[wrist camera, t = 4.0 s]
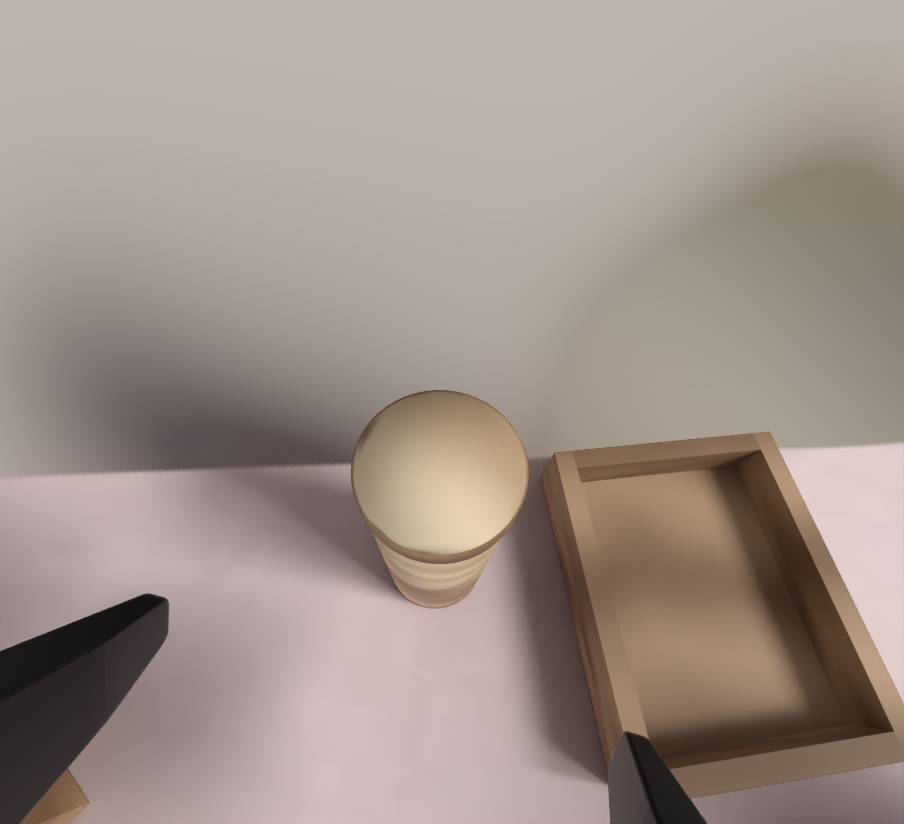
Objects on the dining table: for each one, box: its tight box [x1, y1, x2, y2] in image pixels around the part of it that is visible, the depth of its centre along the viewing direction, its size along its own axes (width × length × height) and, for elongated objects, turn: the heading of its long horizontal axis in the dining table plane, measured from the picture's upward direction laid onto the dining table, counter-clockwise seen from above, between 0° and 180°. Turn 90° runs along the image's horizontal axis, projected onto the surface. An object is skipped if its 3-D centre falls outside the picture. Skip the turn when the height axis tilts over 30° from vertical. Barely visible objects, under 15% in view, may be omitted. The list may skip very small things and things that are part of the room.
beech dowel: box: [351, 390, 529, 608], centre depth 16 cm, size 4×4×11 cm
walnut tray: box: [541, 432, 904, 799], centre depth 19 cm, size 12×10×3 cm
